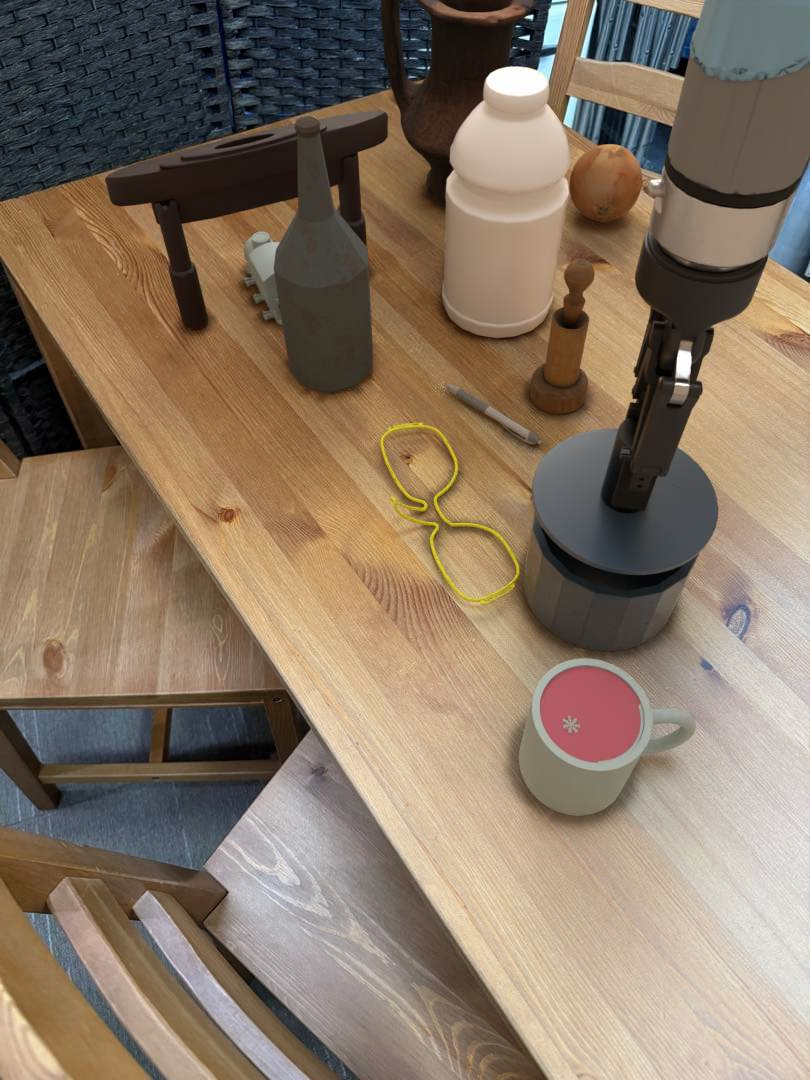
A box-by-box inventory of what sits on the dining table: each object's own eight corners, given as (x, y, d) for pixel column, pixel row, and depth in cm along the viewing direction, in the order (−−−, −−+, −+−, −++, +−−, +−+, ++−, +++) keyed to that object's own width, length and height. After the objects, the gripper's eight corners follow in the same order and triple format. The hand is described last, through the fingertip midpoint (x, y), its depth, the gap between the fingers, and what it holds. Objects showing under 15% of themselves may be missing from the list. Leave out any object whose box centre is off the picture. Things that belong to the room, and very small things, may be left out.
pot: (673, 537, 87) (698, 477, 80) (673, 662, 79) (701, 609, 71) (530, 517, 89) (541, 456, 81) (515, 638, 80) (526, 583, 73)
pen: (537, 451, 94) (539, 442, 93) (442, 391, 100) (442, 383, 99) (543, 446, 95) (544, 437, 94) (447, 387, 100) (448, 378, 99)
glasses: (533, 592, 83) (538, 565, 80) (440, 625, 81) (441, 598, 78) (433, 421, 97) (433, 390, 93) (351, 445, 95) (349, 415, 91)
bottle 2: (515, 259, 115) (540, 37, 92) (572, 319, 107) (614, 94, 85) (422, 289, 111) (424, 66, 89) (474, 353, 104) (491, 128, 81)
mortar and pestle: (533, 371, 102) (552, 239, 87) (587, 378, 101) (616, 246, 87) (526, 410, 98) (545, 279, 84) (582, 418, 97) (612, 287, 83)
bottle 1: (294, 338, 106) (258, 93, 82) (373, 337, 106) (361, 92, 82) (288, 397, 100) (248, 151, 75) (372, 396, 100) (358, 150, 75)
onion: (626, 194, 124) (641, 126, 116) (640, 235, 118) (657, 166, 110) (560, 196, 124) (570, 128, 115) (570, 237, 118) (582, 168, 110)
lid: (712, 449, 77) (742, 378, 70) (717, 592, 68) (752, 527, 61) (539, 427, 79) (551, 355, 72) (521, 563, 70) (534, 496, 63)
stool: (85, 134, 94) (361, 73, 102) (135, 291, 111) (368, 228, 119) (117, 209, 86) (415, 136, 94) (166, 366, 103) (415, 293, 111)
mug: (526, 818, 70) (541, 774, 62) (512, 714, 76) (524, 661, 68) (690, 809, 71) (726, 764, 63) (665, 706, 76) (694, 652, 68)
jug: (536, 160, 129) (564, -72, 105) (518, 230, 119) (544, -9, 94) (401, 144, 132) (397, -84, 108) (371, 212, 122) (360, -25, 97)
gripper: (648, 157, 58) (589, 405, 77) (643, 320, 48) (577, 559, 67) (762, 168, 57) (675, 416, 76) (781, 335, 47) (675, 573, 66)
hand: (629, 482), depth 71 cm, fingers closed on lid, 4 cm apart
